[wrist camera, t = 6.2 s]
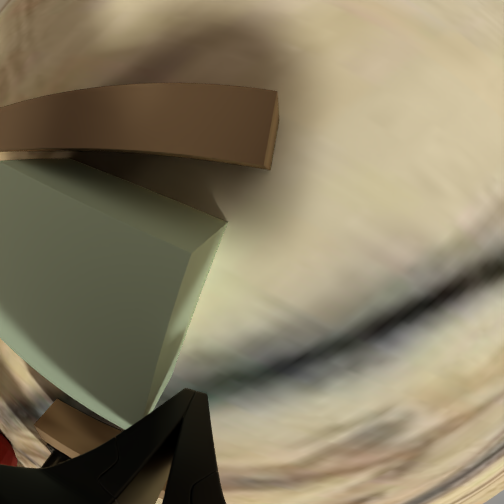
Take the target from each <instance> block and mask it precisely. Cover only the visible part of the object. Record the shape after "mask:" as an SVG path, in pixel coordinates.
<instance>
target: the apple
mask: <svg viewBox="0 0 504 504" xmlns="http://www.w3.org/2000/svg"><path fill="white" fill-rule="evenodd" d="M0 464H2V465H9V466H16V467H17V458H16V456H15V453H14V450H13V448H12V446H11V444H10V443H9V442H8V440H7V439H6V438H5V437H4V436H3V435H2V434H1V433H0Z"/></svg>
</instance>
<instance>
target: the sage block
mask: <svg viewBox="0 0 504 504" xmlns="http://www.w3.org/2000/svg"><path fill="white" fill-rule="evenodd" d="M227 223H228V222H226V221H224V220H221V219H219V218H216V217H214V216H212V215H209V214H207V213H205V212H202V211H200V210H197V209H195V208H192V207H190V206H188V205H185V204H183V203H180V202H178V201H175V200H173V199H171V198H168V197H166V196H163V195H161V194H158V193H156V192H153V191H151V190H148V189H146V188H143V187H141V186H138V185H136V184H133V183H131V182H128V181H126V180H123V179H121V178H118V177H116V176H113V175H111V174H108V173H106V172H103V171H101V170H98V169H96V168H93V167H90V166H88V165H85V164H83V163H80V162H77V161H75V160H72V159H70V158H59V159H22V160H5V161H0V338H1V339H2V340H3V341H4V342H5V343H6V344H7V345H8V346H9V347H10V348H11V349H12V350H13V351H14V352H15V353H16V354H18V355H19V356H20V357H21V358H22V359H23V360H24V361H25V362H27V363H28V364H29V365H30V366H31V367H32V368H34V369H35V370H36V371H37V372H38V373H40V374H41V375H42V376H43V377H45V378H46V379H47V380H49V381H50V382H51V383H52V384H54V385H55V386H56V387H58V388H59V389H61V390H62V391H63V392H65V393H66V394H68V395H69V396H70V397H72V398H73V399H75V400H76V401H78V402H79V403H81V404H82V405H84V406H85V407H87V408H89V409H90V410H92V411H93V412H95V413H97V414H98V415H100V416H102V417H103V418H105V419H107V420H108V421H110V422H112V423H114V424H115V425H117V426H119V427H121V428H123V429H127V428H129V427H130V426H132V425H133V424H135V423H136V422H138V421H139V420H140V419H142V418H143V417H145V416H146V415H148V414H149V413H151V412H152V411H153V409H154V407H155V406H156V404H157V402H158V400H159V398H160V396H161V394H162V393H163V391H164V389H165V387H166V385H167V383H168V382H169V380H170V378H171V376H172V374H173V371H174V368H175V365H176V362H177V359H178V356H179V353H180V350H181V347H182V344H183V341H184V339H185V336H186V333H187V330H188V327H189V324H190V322H191V319H192V316H193V313H194V311H195V308H196V305H197V302H198V300H199V297H200V294H201V291H202V289H203V286H204V283H205V281H206V278H207V275H208V273H209V270H210V267H211V265H212V262H213V259H214V257H215V254H216V252H217V249H218V246H219V244H220V241H221V239H222V236H223V234H224V231H225V228H226V226H227Z"/></svg>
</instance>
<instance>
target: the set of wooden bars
mask: <svg viewBox="0 0 504 504" xmlns="http://www.w3.org/2000/svg"><path fill="white" fill-rule="evenodd" d="M278 124H279V110H278V97H277V91H272V90H265V89H258V88H249V87H240V86H230V85H217V84H199V83H144V84H126V85H114V86H104V87H95V88H87V89H80V90H74V91H68V92H62V93H57V94H52V95H47V96H43V97H38V98H34V99H30V100H26V101H22V102H18V103H15V104H11V105H8V106H5V107H1V108H0V152H8V151H56V150H69V151H107V152H126V153H141V154H153V155H164V156H174V157H184V158H193V159H201V160H209V161H216V162H223V163H230V164H237V165H243V166H249V167H255V168H261V169H267V170H270V169H271V163H272V158H273V152H274V146H275V141H276V135H277V130H278ZM34 426H35V428H36V430H37V432H38V433H39V435H40V437H41V438H42V440H44V441H45V442H47V443H48V444H50V445H51V446H53V447H54V448H56V449H58V450H59V451H61V452H62V453H64V454H66V455H67V456H69V457H71V458H74V457H77V456H79V455H82V454H84V453H86V452H88V451H90V450H92V449H94V448H96V447H98V446H100V445H102V444H103V443H105V442H107V441H108V440H110V439H111V438H113V437H115V436H116V435H118V434H119V433H121V432H122V431H120V430H118V429H116V428H113V427H111V426H109V425H107V424H105V423H102V422H100V421H98V420H96V419H94V418H92V417H90V416H88V415H86V414H84V413H82V412H80V411H78V410H77V409H75V408H73V407H71V406H69V405H67V404H66V403H64V402H62V401H60V400H59V399H56V401H55V402H54V403H53V404H52V405H51V406H50V407H49V408H48V409H47V411H46V412H45V413H44V414H43V415H42V416H41V417H40V419H39V420H38V421H37V422H36V423H35V424H34ZM167 480H168V479H167ZM166 485H167V481H166V483H165V485H164V487H163V489H162V491H161V493H160V495H159V498H162V499H163V498H164V494H165V489H166Z"/></svg>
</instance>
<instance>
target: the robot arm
mask: <svg viewBox="0 0 504 504" xmlns="http://www.w3.org/2000/svg"><path fill="white" fill-rule="evenodd" d="M46 446H47V447H48V449H49V451H50V452H51V455H50V456H49V457H48V459H47V460H46V461H45V463H44V464H43V466H42V467H41V468H25V467H16V466H9V465H2V464H0V504H155V503H156V501H157V499H158V497H159V495H160V493H161V491H162V489H163V487H164V485H165V483H166V481H167V485H166V489H165V494H164V498H163V503H162V504H226V502H225V499H224V496H223V492H222V488H221V484H220V478H219V473H218V467H217V461H216V455H215V448H214V442H213V435H212V427H211V420H210V412H209V404H208V396H207V394H206V393H202V392H198V391H195V390H191V389H188V388H185V389H183V390H182V391H180V392H179V393H177V394H176V395H175V396H173V397H172V398H171V399H169V400H168V401H166V402H165V403H164V404H162V405H161V406H159V407H158V408H156V409H155V410H154V411H152V412H151V413H149V414H148V415H146V416H145V417H143V418H142V419H140V420H139V421H138V422H136V423H135V424H133V425H132V426H130V427H129V428H127V429H125V430H124V431H122V432H121V433H119V434H118V435H116V436H115V437H113V438H111V439H110V440H108V441H107V442H105V443H103V444H102V445H100V446H98V447H96V448H94V449H92V450H90V451H88V452H86V453H84V454H82V455H79V456H77V457H74V458H71V457H69V456H67V455H66V454H64V453H62V452H61V451H59V450H58V449H56V448H54V447H53V446H51V445H50V444H47V445H46ZM167 479H168V480H167Z"/></svg>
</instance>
